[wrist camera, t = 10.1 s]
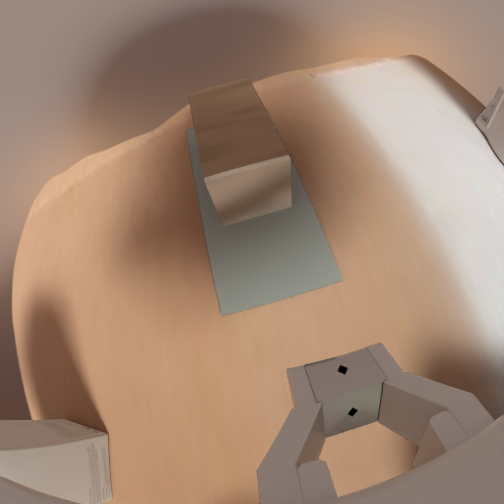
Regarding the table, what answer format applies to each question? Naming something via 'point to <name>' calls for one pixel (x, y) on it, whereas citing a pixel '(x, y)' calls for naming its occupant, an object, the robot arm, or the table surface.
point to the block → (240, 152)
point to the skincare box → (57, 459)
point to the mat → (264, 248)
